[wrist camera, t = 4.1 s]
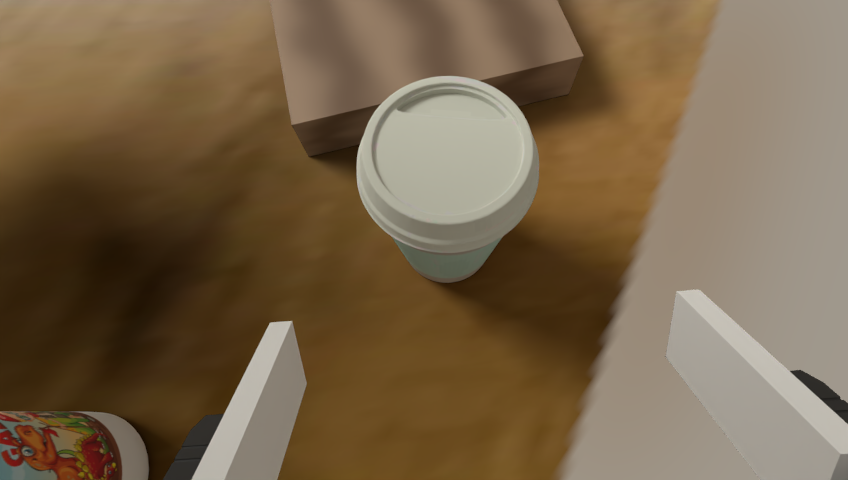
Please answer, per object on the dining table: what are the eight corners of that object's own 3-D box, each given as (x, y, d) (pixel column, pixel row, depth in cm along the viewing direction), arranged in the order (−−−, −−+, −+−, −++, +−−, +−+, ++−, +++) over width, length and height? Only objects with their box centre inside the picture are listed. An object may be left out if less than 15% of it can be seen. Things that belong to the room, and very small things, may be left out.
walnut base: (308, 156, 34) (291, 125, 30) (272, -34, 41) (255, -79, 37) (568, 94, 35) (583, 55, 31) (490, -82, 42) (494, -131, 38)
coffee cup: (535, 231, 31) (586, 129, 20) (457, 330, 29) (465, 279, 18) (436, 163, 33) (431, 36, 22) (357, 251, 31) (308, 160, 20)
